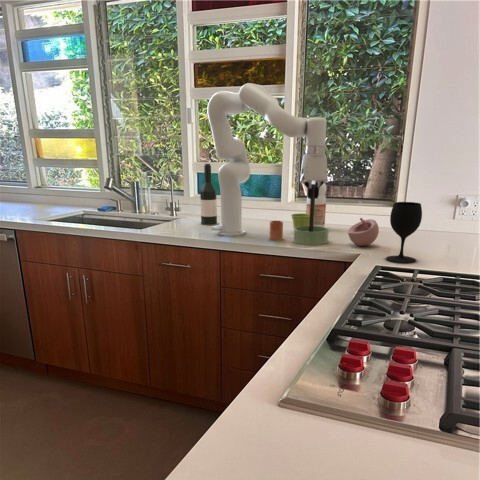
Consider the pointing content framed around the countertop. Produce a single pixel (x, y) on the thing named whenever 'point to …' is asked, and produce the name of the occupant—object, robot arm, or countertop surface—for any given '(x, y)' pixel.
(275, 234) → the utensil pot
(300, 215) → the plant pot
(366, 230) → the mortar and pestle
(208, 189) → the wine bottle
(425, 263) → the countertop surface
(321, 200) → the fruit juice
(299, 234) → the bowl
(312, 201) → the stick
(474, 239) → the countertop surface
